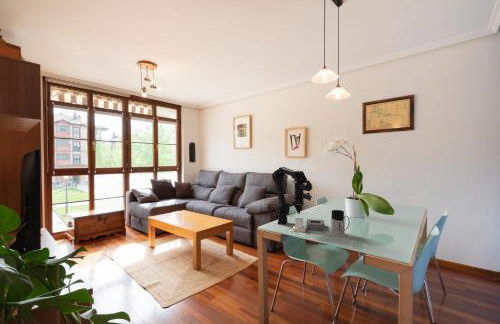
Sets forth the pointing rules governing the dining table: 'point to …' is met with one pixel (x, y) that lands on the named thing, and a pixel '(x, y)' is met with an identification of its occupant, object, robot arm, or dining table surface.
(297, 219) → the plug
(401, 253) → the dining table surface
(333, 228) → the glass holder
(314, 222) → the port
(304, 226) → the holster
